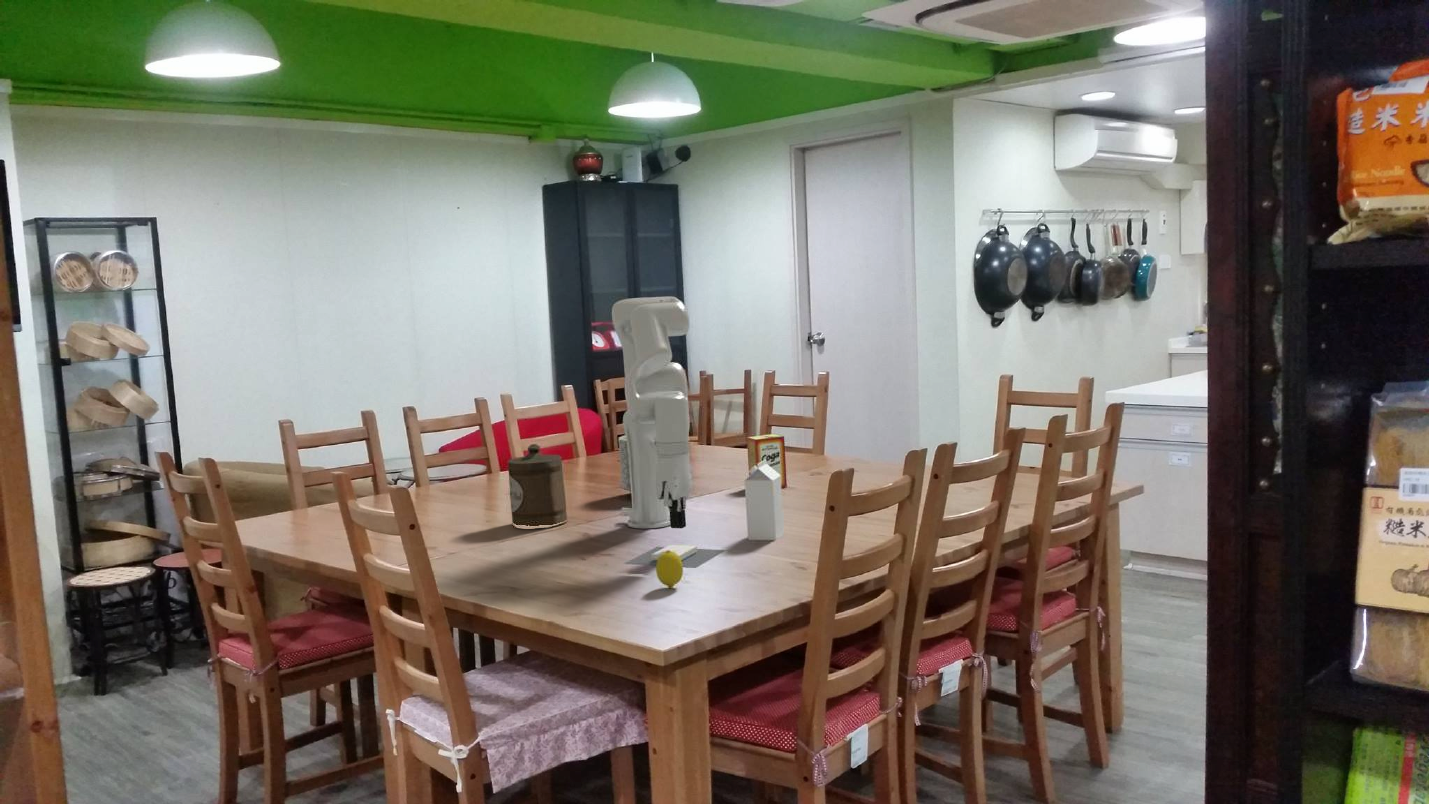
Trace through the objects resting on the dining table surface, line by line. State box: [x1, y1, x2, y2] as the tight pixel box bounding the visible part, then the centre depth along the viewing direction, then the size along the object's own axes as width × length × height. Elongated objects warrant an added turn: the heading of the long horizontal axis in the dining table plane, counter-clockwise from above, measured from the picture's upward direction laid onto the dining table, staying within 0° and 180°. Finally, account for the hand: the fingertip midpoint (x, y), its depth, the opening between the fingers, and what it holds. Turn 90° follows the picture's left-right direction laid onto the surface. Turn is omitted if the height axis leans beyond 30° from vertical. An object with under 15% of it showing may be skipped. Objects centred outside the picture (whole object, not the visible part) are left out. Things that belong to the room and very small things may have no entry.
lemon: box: [655, 550, 684, 589], centre depth 226 cm, size 6×6×8 cm
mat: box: [623, 546, 727, 569], centre depth 251 cm, size 18×16×1 cm
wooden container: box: [507, 443, 568, 526], centre depth 299 cm, size 15×15×22 cm
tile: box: [652, 544, 698, 561], centre depth 250 cm, size 7×2×9 cm
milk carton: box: [744, 459, 785, 541], centre depth 265 cm, size 7×7×19 cm
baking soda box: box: [746, 433, 788, 489], centre depth 332 cm, size 10×6×16 cm
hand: (678, 527), depth 252 cm, fingers closed
